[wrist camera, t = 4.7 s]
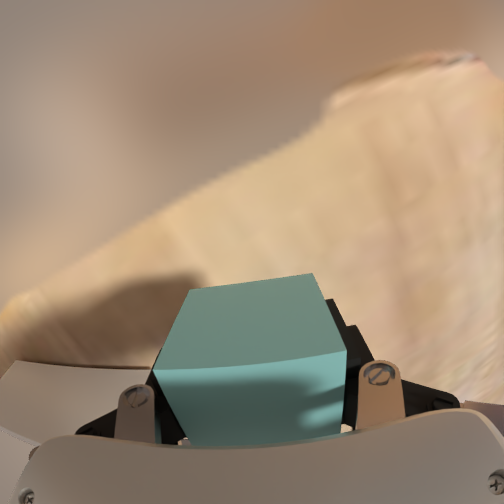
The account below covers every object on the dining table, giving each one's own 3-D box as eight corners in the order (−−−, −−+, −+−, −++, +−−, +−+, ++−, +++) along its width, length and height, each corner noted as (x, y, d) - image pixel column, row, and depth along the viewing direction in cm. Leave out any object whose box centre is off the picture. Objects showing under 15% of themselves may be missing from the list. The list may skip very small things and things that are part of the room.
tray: (153, 369, 20) (119, 465, 12) (209, 469, 26) (203, 532, 18) (15, 359, 21) (-25, 412, 12) (87, 453, 27) (69, 500, 18)
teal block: (312, 273, 11) (346, 350, 6) (317, 366, 13) (337, 450, 8) (189, 289, 12) (152, 369, 7) (215, 378, 13) (201, 461, 8)
